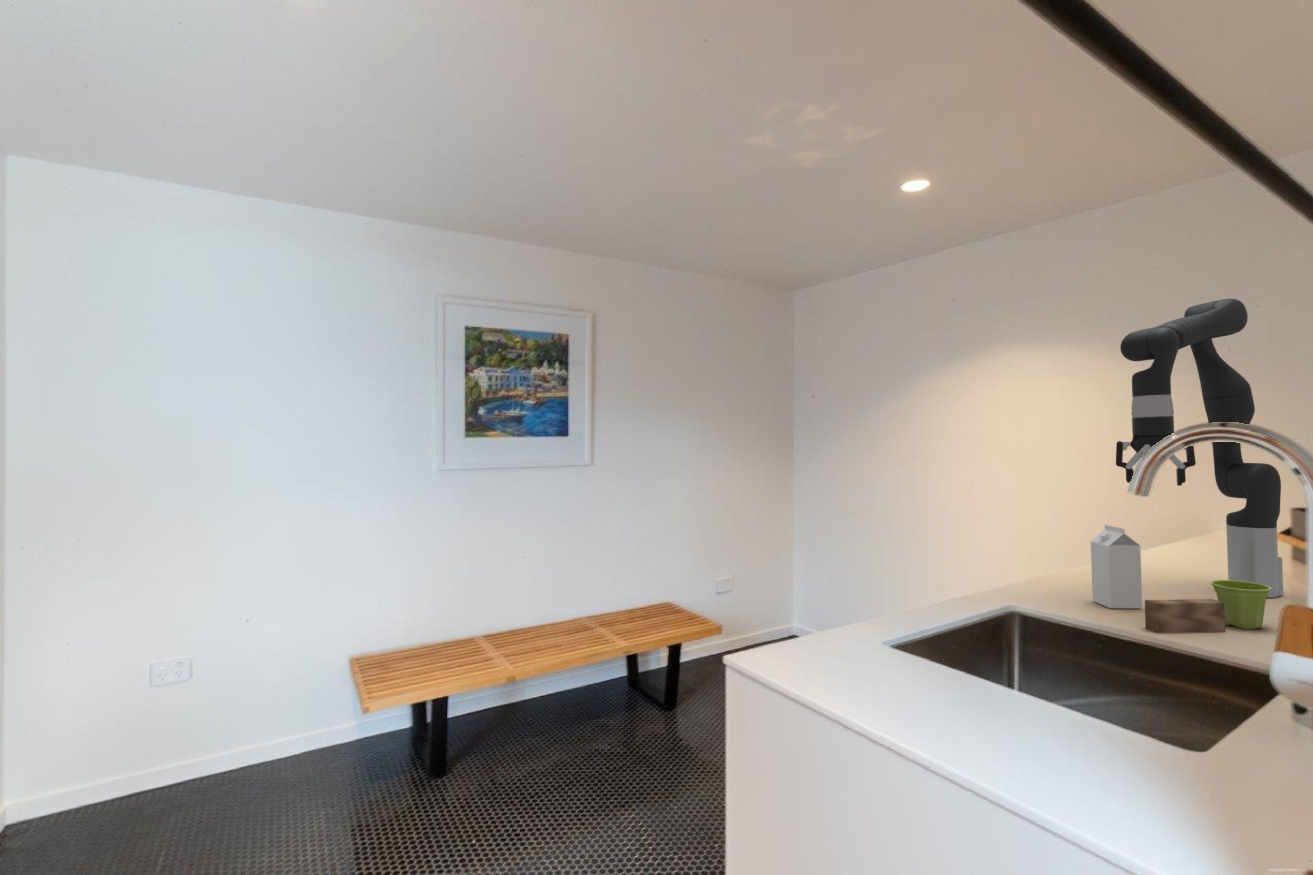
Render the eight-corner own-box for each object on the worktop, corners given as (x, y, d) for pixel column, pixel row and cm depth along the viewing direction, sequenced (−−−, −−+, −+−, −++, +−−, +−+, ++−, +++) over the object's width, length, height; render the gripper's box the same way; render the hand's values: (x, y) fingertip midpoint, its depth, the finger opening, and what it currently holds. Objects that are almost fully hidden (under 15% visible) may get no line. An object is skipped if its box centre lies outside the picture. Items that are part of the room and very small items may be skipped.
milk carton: (1122, 601, 151) (1120, 524, 151) (1142, 609, 144) (1140, 528, 144) (1092, 601, 152) (1089, 524, 152) (1110, 609, 144) (1108, 529, 145)
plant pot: (1220, 628, 128) (1219, 587, 128) (1205, 616, 137) (1204, 578, 137) (1281, 634, 124) (1279, 591, 124) (1261, 621, 132) (1260, 581, 132)
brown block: (1210, 626, 130) (1209, 598, 130) (1225, 631, 126) (1224, 602, 127) (1144, 627, 130) (1143, 599, 130) (1156, 632, 127) (1155, 603, 127)
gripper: (1190, 414, 140) (1193, 484, 140) (1113, 417, 149) (1116, 483, 148) (1195, 413, 134) (1198, 487, 134) (1114, 416, 142) (1117, 486, 142)
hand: (1155, 485), depth 141 cm, fingers open, 8 cm apart
